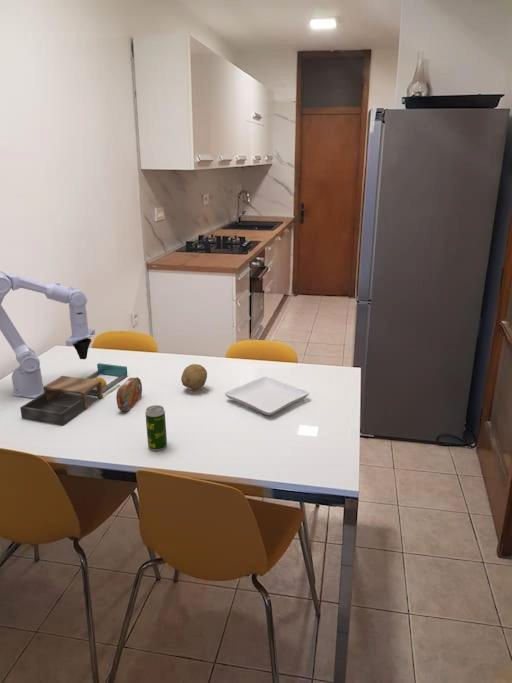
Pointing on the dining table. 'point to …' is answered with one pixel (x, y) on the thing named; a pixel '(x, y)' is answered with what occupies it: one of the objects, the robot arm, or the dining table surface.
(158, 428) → the beer can
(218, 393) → the dining table surface
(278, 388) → the salad plate
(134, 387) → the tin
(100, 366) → the drawer
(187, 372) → the brown potato
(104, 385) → the bread roll
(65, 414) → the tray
